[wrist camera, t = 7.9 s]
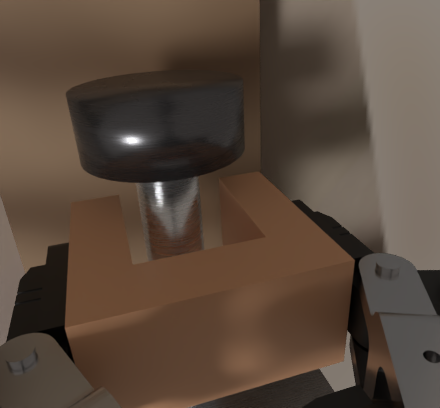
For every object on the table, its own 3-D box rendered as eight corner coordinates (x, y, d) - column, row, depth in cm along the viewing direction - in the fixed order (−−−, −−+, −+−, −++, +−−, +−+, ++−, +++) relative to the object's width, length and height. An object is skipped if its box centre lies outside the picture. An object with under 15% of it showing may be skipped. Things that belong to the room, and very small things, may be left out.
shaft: (67, 79, 14) (61, 114, 9) (215, 65, 15) (271, 90, 10) (124, 351, 19) (137, 453, 15) (229, 324, 20) (269, 411, 16)
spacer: (71, 202, 12) (64, 327, 8) (258, 171, 14) (355, 259, 9) (90, 283, 14) (95, 435, 9) (259, 247, 15) (343, 361, 10)
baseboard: (-93, -143, 13) (-112, -160, 12) (243, -136, 15) (258, -149, 14) (73, 399, 24) (72, 422, 22) (253, 350, 26) (262, 368, 25)
